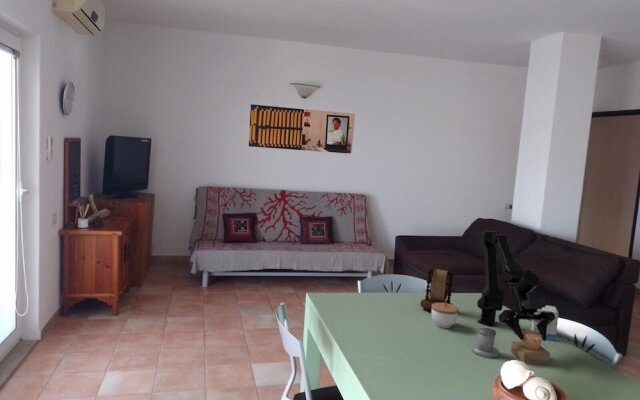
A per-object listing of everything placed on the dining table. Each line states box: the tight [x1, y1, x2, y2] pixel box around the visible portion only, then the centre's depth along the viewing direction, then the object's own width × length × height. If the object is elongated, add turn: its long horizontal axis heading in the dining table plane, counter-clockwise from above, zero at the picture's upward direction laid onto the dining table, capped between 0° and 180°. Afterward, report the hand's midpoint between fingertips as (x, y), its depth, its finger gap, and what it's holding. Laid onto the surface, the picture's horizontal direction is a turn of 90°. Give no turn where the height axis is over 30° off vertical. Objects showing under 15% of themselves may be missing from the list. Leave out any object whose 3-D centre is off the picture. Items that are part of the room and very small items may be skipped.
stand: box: [510, 340, 551, 365], centre depth 160 cm, size 9×9×4 cm
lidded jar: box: [430, 303, 460, 329], centre depth 186 cm, size 11×11×9 cm
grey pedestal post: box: [471, 327, 500, 359], centre depth 162 cm, size 9×9×8 cm
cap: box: [520, 329, 543, 351], centre depth 159 cm, size 8×6×5 cm
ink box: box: [529, 304, 559, 342], centre depth 183 cm, size 9×8×12 cm
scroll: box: [420, 264, 454, 311], centre depth 204 cm, size 15×15×20 cm
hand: (533, 340), depth 158 cm, fingers open, 8 cm apart
